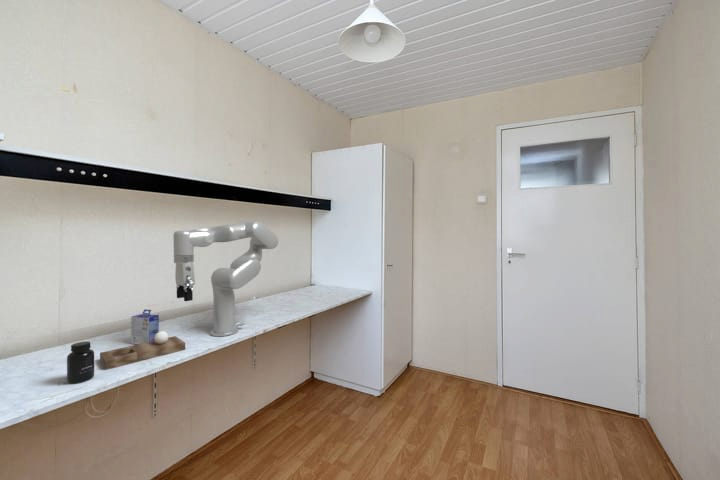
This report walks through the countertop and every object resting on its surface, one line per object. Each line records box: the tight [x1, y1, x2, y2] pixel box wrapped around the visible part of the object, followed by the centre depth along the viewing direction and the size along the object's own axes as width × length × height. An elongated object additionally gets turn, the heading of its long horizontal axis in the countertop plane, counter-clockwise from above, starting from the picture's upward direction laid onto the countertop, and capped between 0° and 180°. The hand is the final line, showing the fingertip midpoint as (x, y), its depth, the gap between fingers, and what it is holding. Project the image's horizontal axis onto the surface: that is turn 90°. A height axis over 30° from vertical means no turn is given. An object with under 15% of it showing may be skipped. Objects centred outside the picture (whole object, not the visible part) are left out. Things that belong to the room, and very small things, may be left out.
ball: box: [154, 330, 170, 344], centre depth 129 cm, size 5×5×5 cm
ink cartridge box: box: [130, 309, 160, 345], centre depth 138 cm, size 10×6×14 cm, turn 78°
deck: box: [99, 335, 186, 371], centre depth 125 cm, size 26×12×3 cm, turn 138°
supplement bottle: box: [66, 341, 95, 385], centre depth 104 cm, size 7×7×12 cm
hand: (184, 299), depth 136 cm, fingers open, 8 cm apart
